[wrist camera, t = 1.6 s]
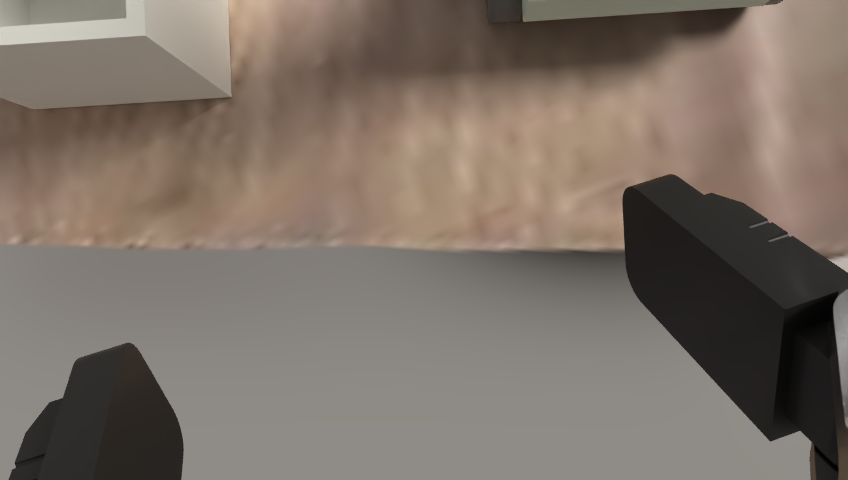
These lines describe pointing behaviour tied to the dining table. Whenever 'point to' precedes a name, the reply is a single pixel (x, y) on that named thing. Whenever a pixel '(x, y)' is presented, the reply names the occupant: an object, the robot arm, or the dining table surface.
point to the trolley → (601, 8)
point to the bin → (113, 51)
